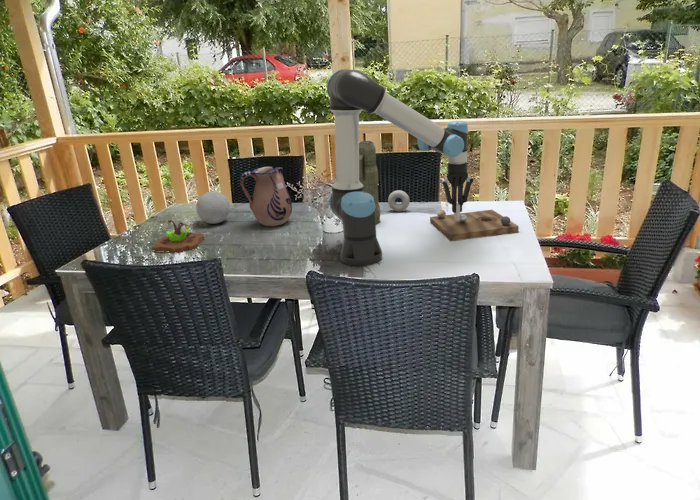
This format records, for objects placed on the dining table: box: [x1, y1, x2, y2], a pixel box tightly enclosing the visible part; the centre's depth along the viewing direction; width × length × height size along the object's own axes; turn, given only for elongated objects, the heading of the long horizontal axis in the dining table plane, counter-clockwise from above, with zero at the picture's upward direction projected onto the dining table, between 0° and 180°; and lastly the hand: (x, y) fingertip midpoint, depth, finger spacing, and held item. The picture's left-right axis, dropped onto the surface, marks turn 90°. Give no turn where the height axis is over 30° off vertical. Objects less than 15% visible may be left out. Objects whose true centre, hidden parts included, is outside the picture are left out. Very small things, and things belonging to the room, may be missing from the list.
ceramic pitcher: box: [239, 166, 293, 227], centre depth 230 cm, size 18×21×25 cm
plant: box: [151, 219, 205, 254], centre depth 215 cm, size 20×20×11 cm
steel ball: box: [460, 214, 467, 223], centre depth 211 cm, size 4×4×4 cm
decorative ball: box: [196, 190, 231, 225], centre depth 239 cm, size 15×15×15 cm
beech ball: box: [436, 209, 447, 218], centre depth 218 cm, size 4×4×4 cm
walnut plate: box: [429, 209, 520, 242], centre depth 212 cm, size 28×24×2 cm
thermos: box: [359, 140, 381, 225], centre depth 221 cm, size 9×12×35 cm
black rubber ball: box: [501, 216, 511, 225], centre depth 204 cm, size 4×4×4 cm
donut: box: [387, 189, 410, 212], centre depth 238 cm, size 10×4×10 cm, turn 77°
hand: (457, 219), depth 211 cm, fingers closed
